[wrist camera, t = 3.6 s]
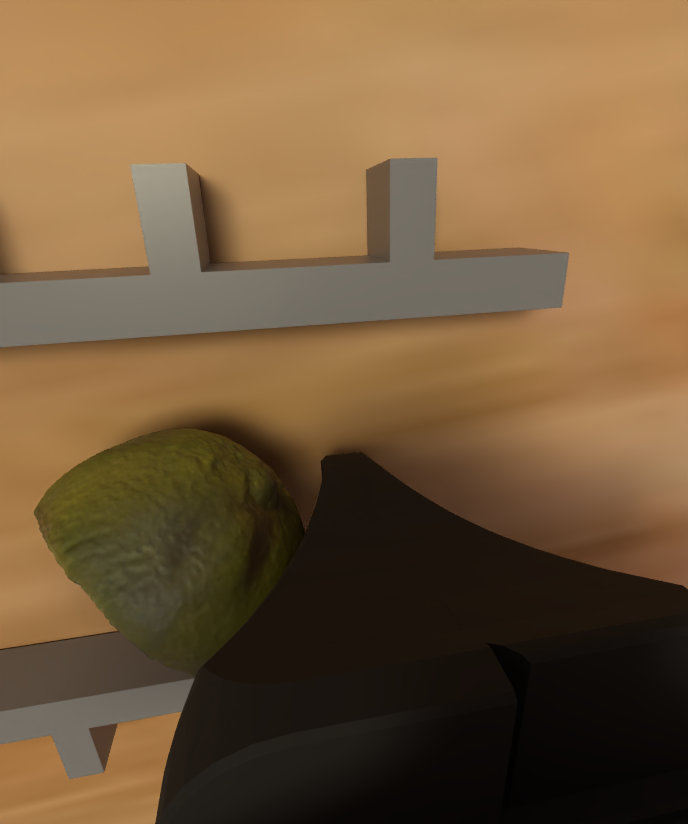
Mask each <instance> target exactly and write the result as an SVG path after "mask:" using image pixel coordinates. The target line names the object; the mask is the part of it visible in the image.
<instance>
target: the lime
mask: <svg viewBox="0 0 688 824" xmlns="http://www.w3.org/2000/svg"><path fill="white" fill-rule="evenodd" d="M34 515H35V516H36V519H37V520H38V524H39V526H40V527H39V529H40V531H41V533H42V534H43V538H44V539H45V541H46V543H47V545H48V548H49V550H50V551H51V552H52V553H53V554H54V556H55V558H56V561H57V563H58V564H59V565H60V566H61V567H62V568H63V569H64V570H65V574H66V575H67V576H68V578H69V579H70V580H71V581H73V582H74V583H76V584H79V585H81V588H82V589H83V590H84V591H85V592H86V593H87V595H88V596H90V598H91V599H92V600H93V601H94V602H95V604H96V606H97V608H98V609H99V610H101V611H102V612H103V613H104V615H105V617H106V618H107V619H108V620H109V621H110V624H111V625H112V626H114V627H115V628H116V629H117V630H118V631H119V632H120V633H121V634H122V635H123V636H124V637H125V638H127V639H128V640H129V641H130V642H131V643H132V644H133V645H134V646H136V647H137V648H139V649H140V650H141V651H142V652H143V653H144V654H145V655H146V656H147V657H148V658H150V659H151V660H157V661H159V662H160V663H162V664H163V665H164V666H166V667H167V668H171V669H173V670H178V671H181V672H184V673H186V674H188V675H189V676H192V677H194V678H195V677H196V674H197V672H198V670H199V669H200V668H201V667H202V666H203V665H204V664H205V663H206V662H207V661H208V660H209V659H210V658H211V657H212V656H213V655H214V654H215V653H216V652H217V651H218V650H219V649H220V648H221V647H222V646H223V645H224V644H225V643H226V642H227V641H228V640H229V639H230V638H231V637H232V636H233V635H234V634H235V633H236V632H237V631H238V630H239V629H240V628H241V627H242V626H243V625H244V623H245V622H246V621H247V620H248V619H249V617H250V616H251V615H252V614H253V613H254V611H255V610H256V609H257V608H258V606H259V605H260V604H261V603H262V601H263V600H264V599H265V598H266V596H267V595H268V594H269V593H270V591H271V590H272V589H273V587H274V586H275V584H276V583H277V581H278V580H279V579H280V577H281V576H282V574H283V572H284V571H285V569H286V567H287V566H288V564H289V563H290V561H291V559H292V558H293V556H294V554H295V552H296V550H297V549H298V547H299V545H300V543H301V541H302V539H303V537H304V535H305V532H304V527H303V524H302V520H301V518H300V515H299V513H298V511H297V507H296V505H295V503H294V501H293V499H292V497H291V495H290V494H289V492H288V491H287V489H286V488H285V487H284V485H283V483H282V482H281V480H280V479H279V478H278V476H277V475H276V473H275V472H274V471H273V469H272V468H271V467H269V466H268V465H267V464H265V463H264V462H263V461H262V460H261V459H259V458H258V456H257V455H255V454H253V453H251V452H250V451H248V450H247V449H245V448H244V447H243V446H242V445H240V444H237V443H235V442H233V441H231V440H230V439H229V438H227V437H225V436H223V435H218V434H215V433H212V432H208V431H203V430H199V429H190V428H179V429H173V430H164V431H160V432H154V433H151V434H148V435H145V436H140V437H138V438H135V439H132V440H129V441H127V442H125V443H123V444H120V445H117V446H114V447H112V448H110V449H107V450H104V451H102V452H100V453H98V454H96V455H95V456H92V457H91V458H89V459H87V460H86V461H83V462H82V463H80V464H78V465H77V466H75V467H74V468H73V469H71V470H70V471H69V472H67V473H65V474H64V475H63V476H62V477H61V478H60V479H58V480H57V481H56V482H55V483H54V484H53V485H52V486H51V487H50V488H49V489H48V490H47V492H46V493H45V495H44V496H43V498H42V499H41V501H40V502H39V504H38V506H37V507H36V509H35V510H34Z"/></svg>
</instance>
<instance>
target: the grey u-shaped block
mask: <svg viewBox="0 0 688 824" xmlns="http://www.w3.org/2000/svg"><path fill="white" fill-rule="evenodd" d="M130 167H131V172H132V178H133V183H134V189H135V194H136V199H137V205H138V210H139V216H140V221H141V227H142V232H143V238H144V243H145V248H146V254H147V259H148V265H149V267H132V268H112V269H93V270H73V271H53V272H34V273H14V274H0V347H13V346H27V345H41V344H55V343H69V342H83V341H97V340H111V339H125V338H139V337H153V336H167V335H181V334H195V333H209V332H223V331H237V330H251V329H265V328H280V327H294V326H308V325H322V324H336V323H350V322H364V321H378V320H392V319H406V318H420V317H434V316H448V315H462V314H476V313H490V312H504V311H518V310H532V309H546V308H560V307H562V302H563V294H564V287H565V280H566V272H567V265H568V258H569V253H567V252H557V251H547V250H537V249H527V248H504V249H485V250H465V251H446V252H434V246H435V217H436V187H437V158H404V159H389V160H386V161H384V162H382V163H380V164H378V165H376V166H374V167H371V168H369V169H367V170H366V173H367V234H368V255H367V256H348V257H328V258H308V259H289V260H269V261H249V262H230V263H211V262H210V254H209V247H208V240H207V232H206V225H205V218H204V210H203V203H202V196H201V188H200V181H199V174H198V173H197V172H196V171H194V170H193V169H192V168H191V167H189V166H188V165H187V164H186V163H171V164H130ZM194 679H195V678H194V677H192V676H189V675H188V674H186V673H184V672H181V671H178V670H173V669H171V668H167V667H166V666H164V665H163V664H162V663H160V662H159V661H157V660H151V659H150V658H148V657H147V656H146V655H145V654H144V653H143V652H142V651H141V650H140V649H139V648H137V647H136V646H134V645H133V644H132V643H131V642H130V641H129V640H128V639H127V638H125V637H124V636H123V635H122V634H121V633H120V632H114V633H108V634H101V635H95V636H88V637H82V638H76V639H69V640H63V641H56V642H50V643H43V644H37V645H30V646H24V647H17V648H11V649H4V650H0V744H5V743H10V742H16V741H21V740H27V739H33V738H38V737H44V736H49V735H52V738H53V740H54V743H55V745H56V747H57V750H58V752H59V755H60V757H61V760H62V762H63V765H64V767H65V770H66V772H67V775H68V777H69V779H73V778H78V777H83V776H88V775H93V774H99V773H104V771H105V767H106V764H107V760H108V757H109V753H110V749H111V746H112V742H113V738H114V735H115V731H116V728H117V724H118V723H121V722H127V721H132V720H138V719H143V718H149V717H154V716H160V715H165V714H171V713H176V712H182V710H183V707H184V705H185V702H186V699H187V697H188V694H189V692H190V689H191V687H192V684H193V681H194Z"/></svg>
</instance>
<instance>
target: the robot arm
mask: <svg viewBox="0 0 688 824" xmlns="http://www.w3.org/2000/svg"><path fill="white" fill-rule="evenodd" d="M321 470H322V484H321V488H320V492H319V496H318V500H317V504H316V507H315V509H314V512H313V515H312V517H311V520H310V523H309V525H308V528H307V530H306V532H305V535H304V537H303V539H302V541H301V543H300V545H299V547H298V549H297V550H296V552H295V554H294V556H293V558H292V559H291V561H290V563H289V564H288V566H287V567H286V569H285V571H284V572H283V574H282V576H281V577H280V579H279V580H278V581H277V583H276V584H275V586H274V587H273V589H272V590H271V591H270V593H269V594H268V595H267V596H266V598H265V599H264V600H263V601H262V603H261V604H260V605H259V606H258V608H257V609H256V610H255V611H254V613H253V614H252V615H251V616H250V617H249V619H248V620H247V621H246V622H245V623H244V625H243V626H242V627H241V628H240V629H239V630H238V631H237V632H236V633H235V634H234V635H233V636H232V637H231V638H230V639H229V640H228V641H227V642H226V643H225V644H224V645H223V646H222V647H221V648H220V649H219V650H218V651H217V652H216V653H215V654H214V655H213V656H212V657H211V658H210V659H209V660H208V661H207V662H206V663H205V664H204V665H203V666H202V667H201V668H200V669H199V670H198V672H197V674H196V677H195V679H194V681H193V684H192V687H191V689H190V692H189V694H188V697H187V699H186V702H185V705H184V707H183V710H182V713H181V716H180V719H179V722H178V725H177V728H176V731H175V734H174V738H173V741H172V745H171V748H170V752H169V755H168V759H167V763H166V767H165V771H164V776H163V781H162V787H161V793H160V799H159V805H158V811H157V817H156V823H155V824H688V589H686V588H685V587H684V586H682V585H677V584H672V583H668V582H663V581H658V580H654V579H649V578H644V577H639V576H635V575H630V574H625V573H621V572H616V571H611V570H607V569H603V568H599V567H595V566H592V565H588V564H585V563H581V562H577V561H574V560H570V559H567V558H563V557H560V556H557V555H554V554H550V553H547V552H544V551H541V550H538V549H535V548H532V547H530V546H527V545H524V544H522V543H519V542H516V541H514V540H511V539H508V538H506V537H503V536H501V535H498V534H496V533H493V532H491V531H489V530H486V529H484V528H482V527H480V526H478V525H476V524H474V523H471V522H469V521H467V520H465V519H463V518H461V517H459V516H457V515H455V514H453V513H451V512H449V511H448V510H446V509H444V508H442V507H441V506H439V505H437V504H436V503H434V502H432V501H430V500H429V499H427V498H425V497H424V496H422V495H421V494H419V493H418V492H416V491H414V490H413V489H411V488H410V487H408V486H407V485H405V484H404V483H403V482H401V481H400V480H398V479H397V478H396V477H394V476H393V475H391V474H390V473H389V472H387V471H386V470H385V469H383V468H382V467H381V466H379V465H378V464H377V463H375V462H374V461H373V460H371V459H370V458H369V457H367V456H366V455H365V454H363V453H362V452H358V453H349V454H340V455H330V456H325V457H324V458H323V460H322V461H321Z"/></svg>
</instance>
